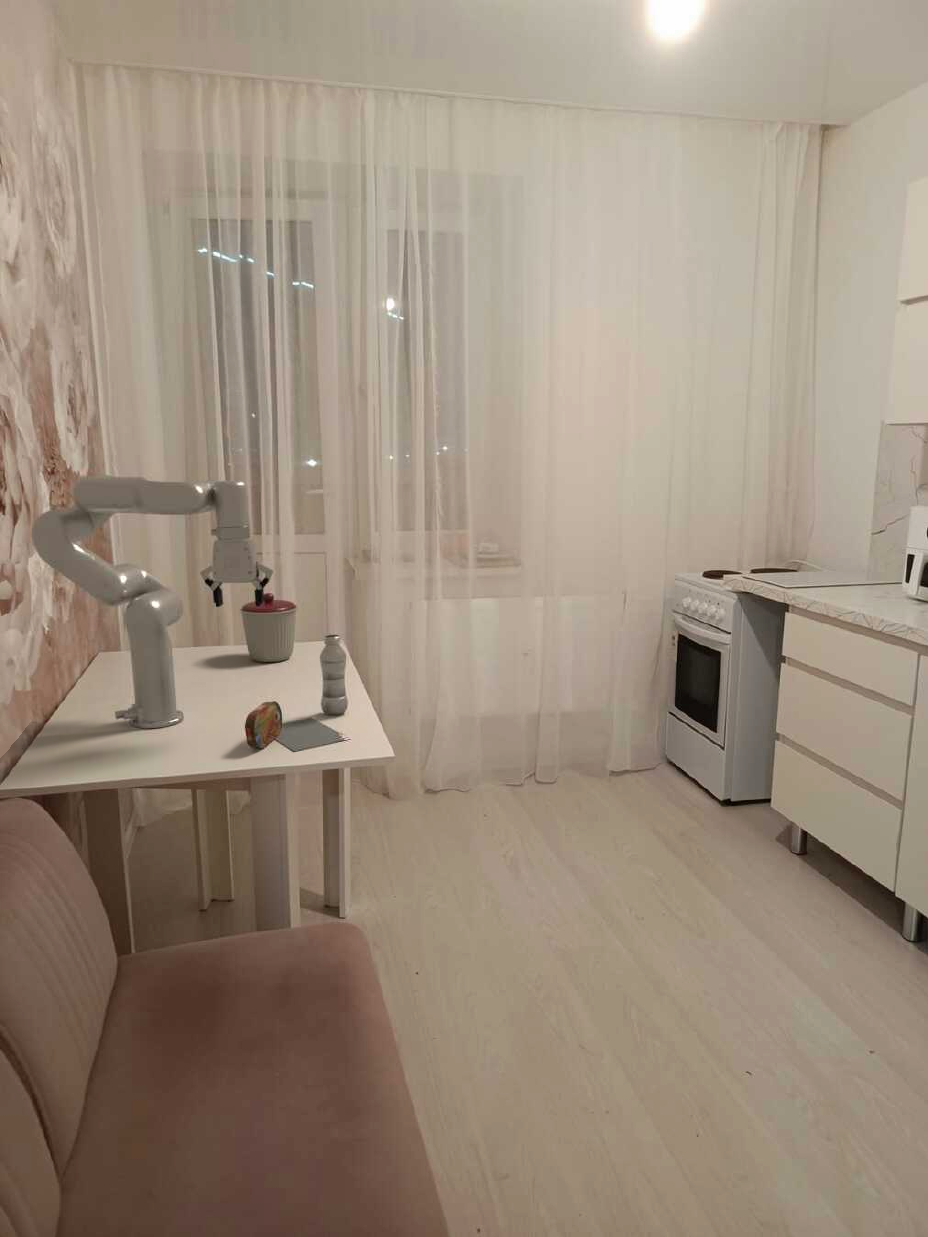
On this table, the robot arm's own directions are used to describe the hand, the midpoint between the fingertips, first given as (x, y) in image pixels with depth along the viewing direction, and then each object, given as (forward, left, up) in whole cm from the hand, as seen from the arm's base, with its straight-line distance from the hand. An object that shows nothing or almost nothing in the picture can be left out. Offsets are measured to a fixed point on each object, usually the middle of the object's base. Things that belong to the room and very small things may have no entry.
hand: (239, 605), depth 212 cm
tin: (-2, -16, -29) cm, 33 cm away
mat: (+7, -16, -29) cm, 34 cm away
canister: (+32, +58, -29) cm, 72 cm away
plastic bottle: (+21, -6, -29) cm, 37 cm away
